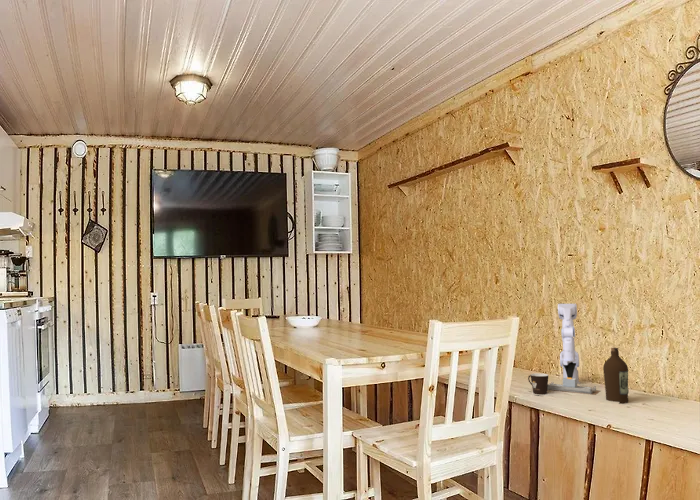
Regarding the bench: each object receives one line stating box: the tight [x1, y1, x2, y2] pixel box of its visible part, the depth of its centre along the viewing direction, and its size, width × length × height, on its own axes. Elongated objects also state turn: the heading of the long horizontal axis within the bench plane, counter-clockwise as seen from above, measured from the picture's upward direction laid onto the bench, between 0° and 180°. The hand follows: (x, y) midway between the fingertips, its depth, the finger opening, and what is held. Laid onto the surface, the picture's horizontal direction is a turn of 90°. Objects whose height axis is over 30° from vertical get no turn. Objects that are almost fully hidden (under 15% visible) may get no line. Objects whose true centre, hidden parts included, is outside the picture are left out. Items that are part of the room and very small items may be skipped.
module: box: [562, 377, 578, 387], centre depth 287 cm, size 4×6×6 cm, turn 53°
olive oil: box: [602, 347, 630, 404], centre depth 265 cm, size 11×11×25 cm
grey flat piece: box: [547, 381, 597, 395], centre depth 288 cm, size 9×22×2 cm, turn 53°
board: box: [549, 390, 601, 396], centre depth 288 cm, size 11×26×1 cm, turn 53°
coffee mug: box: [527, 372, 549, 397], centre depth 284 cm, size 12×9×10 cm
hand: (570, 377), depth 287 cm, fingers closed, pressing on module
